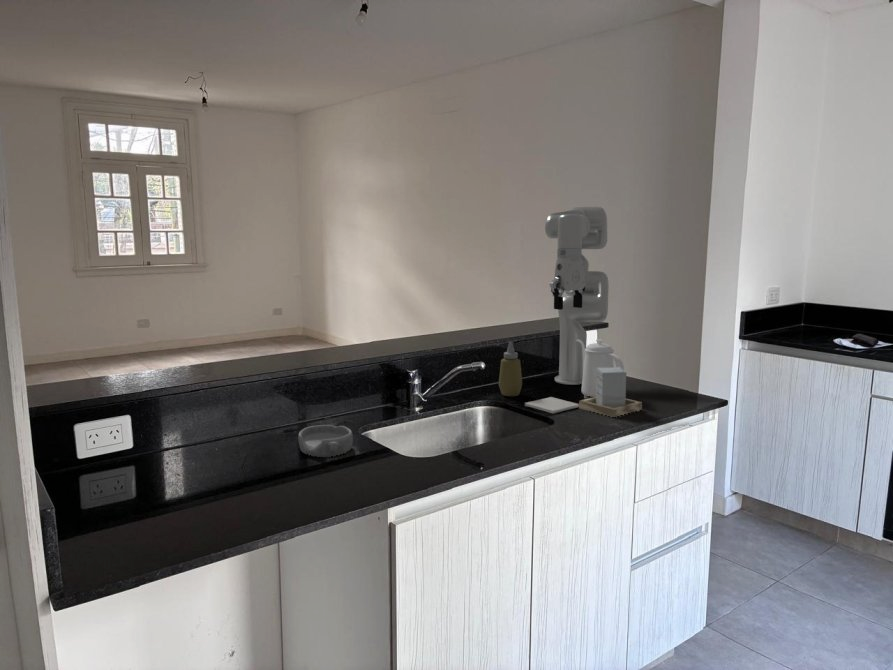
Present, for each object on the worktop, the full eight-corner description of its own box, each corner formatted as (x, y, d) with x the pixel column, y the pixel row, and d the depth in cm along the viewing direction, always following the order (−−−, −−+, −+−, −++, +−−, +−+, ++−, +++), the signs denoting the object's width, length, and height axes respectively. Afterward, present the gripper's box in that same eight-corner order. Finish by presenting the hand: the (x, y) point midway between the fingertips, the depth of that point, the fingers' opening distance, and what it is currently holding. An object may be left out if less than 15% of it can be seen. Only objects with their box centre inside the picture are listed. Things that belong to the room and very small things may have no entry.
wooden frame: (606, 401, 215) (606, 394, 214) (641, 410, 204) (641, 402, 204) (578, 408, 207) (579, 400, 206) (614, 417, 196) (614, 409, 196)
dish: (342, 461, 162) (341, 441, 161) (289, 457, 165) (288, 438, 164) (361, 442, 176) (361, 424, 175) (312, 439, 179) (311, 421, 178)
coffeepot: (587, 384, 238) (588, 332, 235) (634, 400, 216) (636, 343, 213) (562, 388, 233) (563, 335, 230) (607, 404, 211) (609, 346, 208)
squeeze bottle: (496, 396, 222) (496, 343, 219) (501, 391, 229) (501, 339, 227) (519, 398, 220) (520, 344, 217) (524, 392, 227) (525, 340, 224)
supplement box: (618, 406, 209) (619, 366, 207) (625, 412, 202) (627, 371, 200) (595, 406, 209) (596, 367, 207) (601, 413, 202) (602, 372, 200)
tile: (551, 399, 218) (551, 396, 218) (579, 406, 209) (579, 404, 209) (524, 405, 211) (524, 403, 211) (553, 413, 201) (553, 410, 201)
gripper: (561, 254, 201) (560, 310, 203) (595, 254, 212) (594, 307, 214) (542, 254, 206) (541, 309, 209) (576, 254, 218) (575, 306, 220)
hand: (568, 308), depth 211 cm, fingers open, 9 cm apart
